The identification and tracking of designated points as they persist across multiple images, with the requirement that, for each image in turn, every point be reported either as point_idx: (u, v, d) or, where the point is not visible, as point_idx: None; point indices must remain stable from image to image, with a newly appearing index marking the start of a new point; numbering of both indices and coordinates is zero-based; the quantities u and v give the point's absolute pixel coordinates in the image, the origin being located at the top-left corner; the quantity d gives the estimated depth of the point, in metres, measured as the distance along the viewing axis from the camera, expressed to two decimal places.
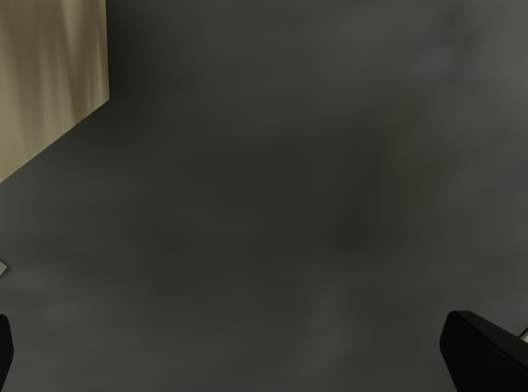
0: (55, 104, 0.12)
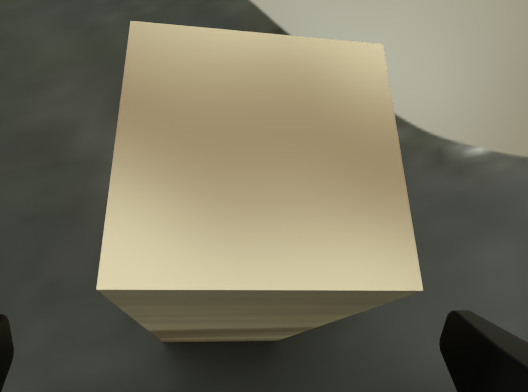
0: None
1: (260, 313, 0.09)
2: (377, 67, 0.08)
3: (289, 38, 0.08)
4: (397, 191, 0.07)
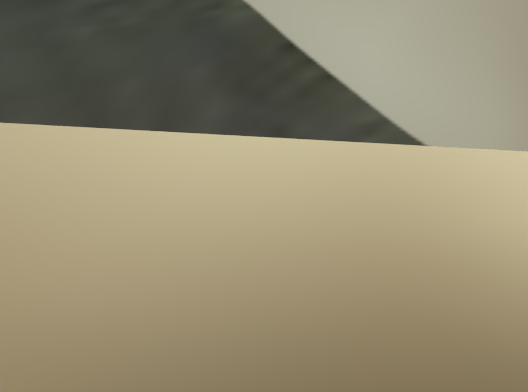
0: None
1: None
2: None
3: (375, 151, 0.04)
4: None
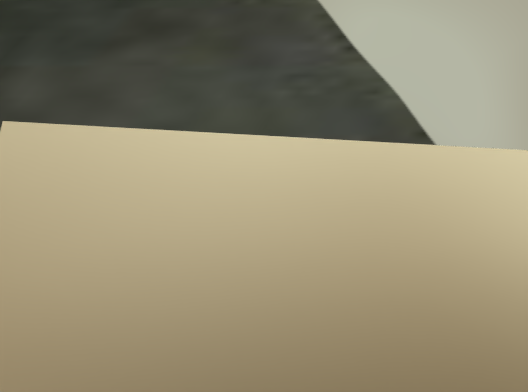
0: None
1: None
2: None
3: (377, 148, 0.04)
4: None
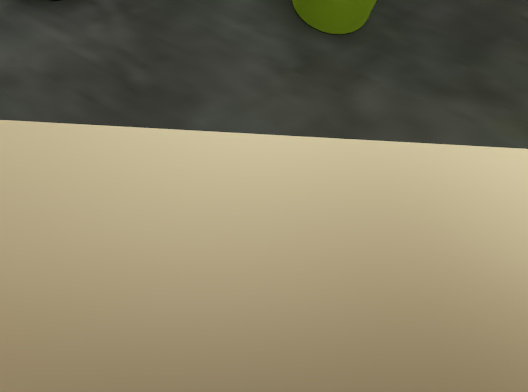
0: None
1: None
2: None
3: (375, 147, 0.04)
4: None
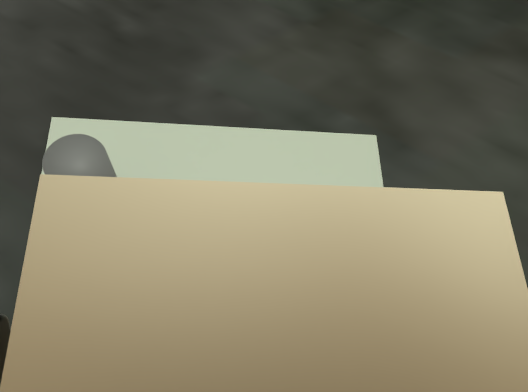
0: None
1: None
2: (500, 243, 0.05)
3: (340, 192, 0.05)
4: None
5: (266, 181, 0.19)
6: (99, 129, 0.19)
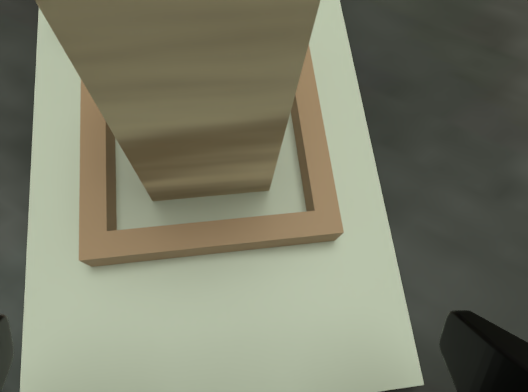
0: None
1: (205, 41, 0.09)
2: None
3: None
4: None
5: None
6: None
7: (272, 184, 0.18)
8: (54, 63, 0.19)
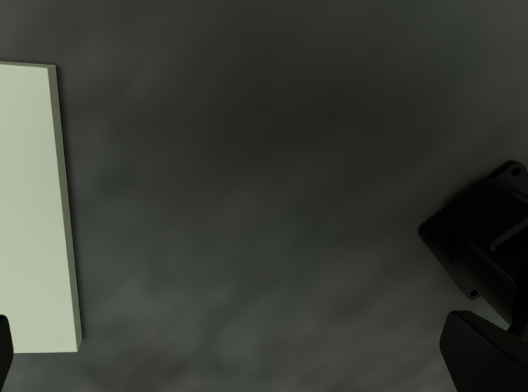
0: None
1: None
2: None
3: None
4: None
5: None
6: None
7: None
8: None
